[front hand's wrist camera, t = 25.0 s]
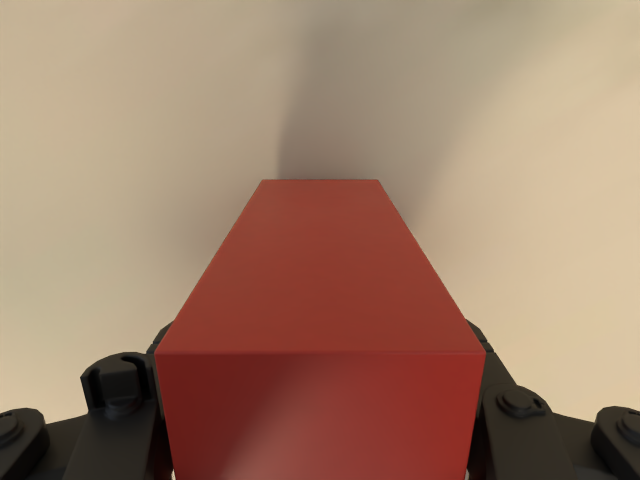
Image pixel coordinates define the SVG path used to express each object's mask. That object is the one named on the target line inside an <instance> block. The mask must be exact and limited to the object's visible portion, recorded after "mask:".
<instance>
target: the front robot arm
mask: <svg viewBox="0 0 640 480" xmlns="http://www.w3.org/2000/svg"><path fill="white" fill-rule="evenodd" d="M466 321H467V322H468V324H469V326H470V327H471V329H472V330H473V332H474V334H475V335H476V337H477V338H478V340H479V342H480V343H481V345H482V346H483V348H484V349H485V351H486V358H485V364H484V369H483V375H482V381H481V387H480V393H479V399H478V404H477V410H476V416H475V422H474V428H473V434H472V439H471V445H470V451H469V457H468V463H467V470H468V472H469V475H468V480H640V411H636V410H633V409H630V408H626V407H618V406H611V407H605V408H603V409H602V410H600V411H599V412H598V413H597V416H596V420H595V423H594V422H589V421H585V420H581V419H576V418H572V417H567V416H563V415H560V414H557V413H553V412H552V410H551V409H550V407H549V406H548V404H547V403H546V401H545V400H544V399H542V398H541V397H540V396H539V395H537V394H536V393H535V392H533V391H531V390H529V389H527V388H525V387H522V386H518V385H517V384H516V383H515V381H514V380H513V378H512V377H511V375H510V374H509V372H508V371H507V369H506V368H505V366H504V365H503V363H502V362H501V360H500V359H499V357H498V356H497V354H496V353H495V352H494V350H493V348H492V347H491V345H490V344H489V343H487V339H486V338H485V336H484V335H483V333H482V332H481V330H480V329H479V328H478V327H476V326H475V325H474V324H472V323H471V322H470V321H468V320H467V319H466ZM172 323H173V321H172V322H171V323H170V324H168V325H167V326H165V327H164V328H163V329H161V330H160V332H159V333H158V335H157V336H156V338H155V339H154V341H153V344H151V345H150V347H149V348H148V350H147V351H146V352H147V353H146V354H142V353H138V352H123V353H118V354H114V355H110V356H108V357H105V358H103V359H101V360H99V361H97V362H95V363H94V364H92V365H91V366H90V367H88V368H87V369H86V370H85V371H84V373H83V374H82V375H81V377H80V379H81V383H82V387H83V391H84V395H85V399H86V403H87V407H88V413H87V414H86V415H82V416H79V417H76V418H71V419H67V420H63V421H58V422H54V423H50V424H46V423H45V420H44V416H43V414H41V413H40V412H39V411H38V410H37V409H31V408H20V409H13V410H9V411H6V412H3V413H0V480H172V475H171V474H172V472H173V469H174V467H173V461H172V455H171V449H170V444H169V438H168V432H167V426H166V420H165V414H164V408H163V403H162V397H161V391H160V385H159V379H158V373H157V368H156V362H155V356H154V352H155V350H156V348H157V347H158V345H159V344H160V342H161V340H162V339H163V337H164V336H165V334H166V332H167V331H168V329H169V328H170V326H171V325H172Z"/></svg>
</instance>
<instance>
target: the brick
mask: <svg viewBox="0 0 640 480" xmlns="http://www.w3.org/2000/svg"><path fill="white" fill-rule="evenodd" d="M154 356H155V362H156V368H157V373H158V379H159V385H160V391H161V397H162V403H163V408H164V414H165V420H166V426H167V432H168V438H169V444H170V449H171V455H172V461H173V467H174V473H175V479H176V480H465V474H466V469H467V463H468V457H469V451H470V445H471V439H472V434H473V428H474V422H475V416H476V410H477V404H478V399H479V393H480V387H481V381H482V375H483V369H484V364H485V358H486V351H485V349H484V348H483V346H482V345H481V343H480V342H479V340H478V338H477V337H476V335H475V334H474V332H473V330H472V329H471V327H470V326H469V324H468V322H467V321H466V319H465V318H464V316H463V315H462V313H461V311H460V310H459V308H458V307H457V305H456V303H455V302H454V300H453V299H452V297H451V295H450V294H449V292H448V291H447V289H446V288H445V286H444V284H443V283H442V281H441V280H440V278H439V276H438V275H437V273H436V272H435V270H434V268H433V267H432V265H431V264H430V262H429V261H428V259H427V257H426V256H425V254H424V253H423V251H422V249H421V248H420V246H419V245H418V243H417V241H416V240H415V238H414V237H413V235H412V234H411V232H410V230H409V229H408V227H407V226H406V224H405V222H404V221H403V219H402V218H401V216H400V214H399V213H398V211H397V210H396V208H395V207H394V205H393V203H392V202H391V200H390V199H389V197H388V195H387V194H386V192H385V191H384V189H383V187H382V186H381V184H380V183H379V181H378V180H262V181H261V183H260V184H259V186H258V188H257V189H256V191H255V192H254V194H253V196H252V197H251V199H250V200H249V202H248V203H247V205H246V207H245V208H244V210H243V211H242V213H241V215H240V216H239V218H238V219H237V221H236V223H235V224H234V226H233V227H232V229H231V231H230V232H229V234H228V235H227V237H226V239H225V240H224V242H223V243H222V245H221V246H220V248H219V250H218V251H217V253H216V254H215V256H214V258H213V259H212V261H211V262H210V264H209V266H208V267H207V269H206V270H205V272H204V274H203V275H202V277H201V278H200V280H199V282H198V283H197V285H196V286H195V288H194V289H193V291H192V293H191V294H190V296H189V297H188V299H187V301H186V302H185V304H184V305H183V307H182V309H181V310H180V312H179V313H178V315H177V317H176V318H175V320H174V321H173V323H172V325H171V326H170V328H169V329H168V331H167V332H166V334H165V336H164V337H163V339H162V340H161V342H160V344H159V345H158V347H157V348H156V350H155V352H154Z"/></svg>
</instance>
